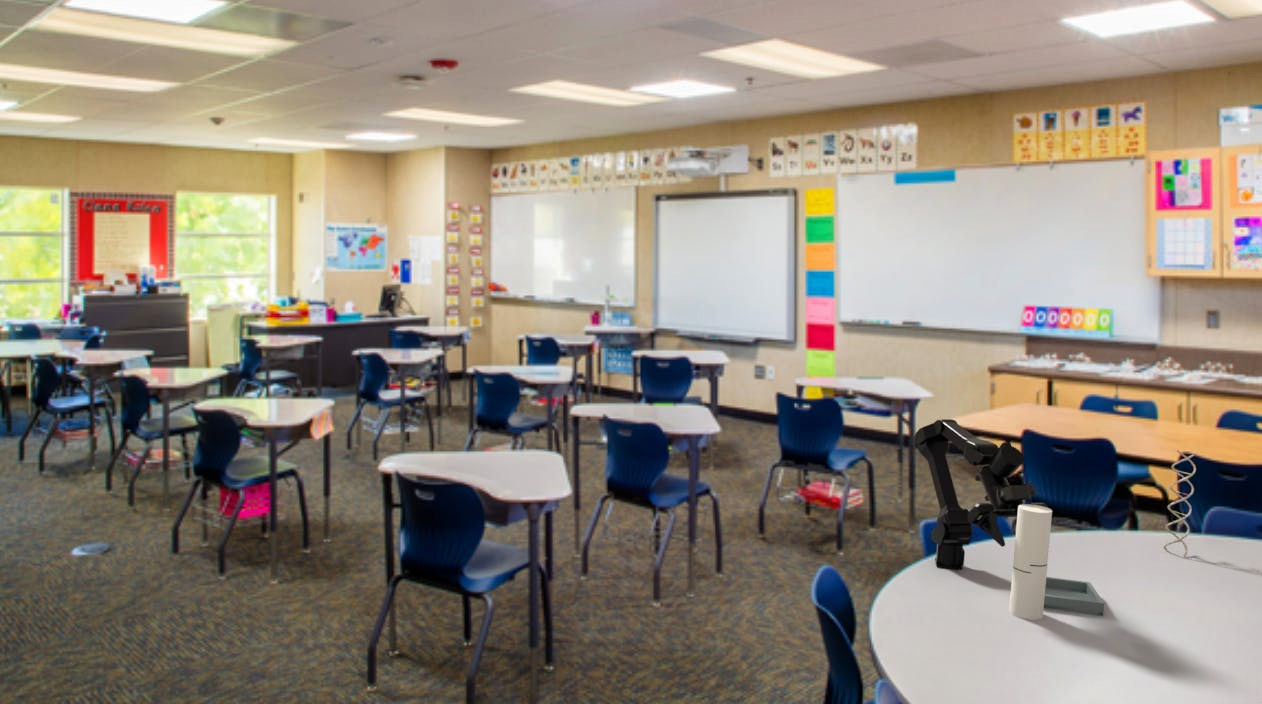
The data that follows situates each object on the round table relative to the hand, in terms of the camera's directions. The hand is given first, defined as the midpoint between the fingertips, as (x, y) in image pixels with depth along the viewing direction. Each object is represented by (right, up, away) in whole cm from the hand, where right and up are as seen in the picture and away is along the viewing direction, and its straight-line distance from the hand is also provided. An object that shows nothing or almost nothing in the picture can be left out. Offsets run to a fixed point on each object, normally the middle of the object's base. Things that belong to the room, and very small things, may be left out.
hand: (1021, 545), depth 208 cm
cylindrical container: (0, -16, -2) cm, 16 cm away
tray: (+13, -15, +8) cm, 21 cm away
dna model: (+67, -13, +50) cm, 84 cm away
